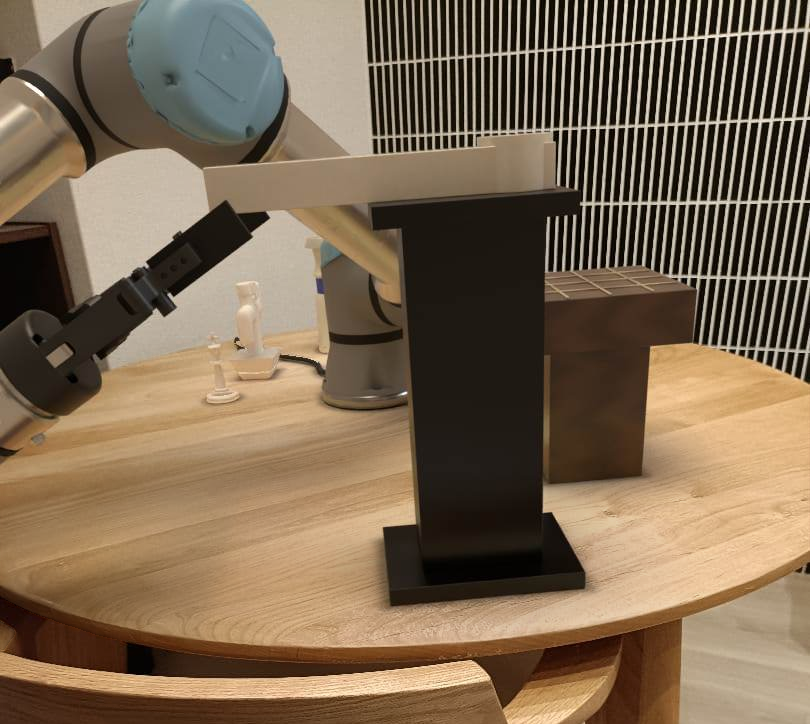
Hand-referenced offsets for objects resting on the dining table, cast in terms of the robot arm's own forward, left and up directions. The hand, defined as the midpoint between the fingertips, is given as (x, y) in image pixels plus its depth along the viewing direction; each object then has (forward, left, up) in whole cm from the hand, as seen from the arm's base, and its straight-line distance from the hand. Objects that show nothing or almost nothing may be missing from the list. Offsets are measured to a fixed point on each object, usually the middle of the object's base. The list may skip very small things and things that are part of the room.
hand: (251, 209), depth 58 cm
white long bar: (+7, +6, 0) cm, 9 cm away
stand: (+11, +10, -30) cm, 34 cm away
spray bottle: (-56, +66, -30) cm, 92 cm away
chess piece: (-51, +34, -30) cm, 68 cm away
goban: (+8, +36, -30) cm, 48 cm away
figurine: (-56, +46, -30) cm, 78 cm away
